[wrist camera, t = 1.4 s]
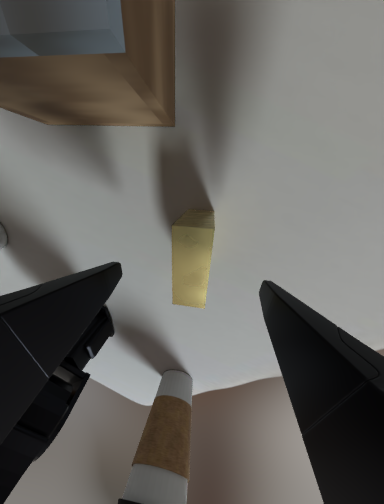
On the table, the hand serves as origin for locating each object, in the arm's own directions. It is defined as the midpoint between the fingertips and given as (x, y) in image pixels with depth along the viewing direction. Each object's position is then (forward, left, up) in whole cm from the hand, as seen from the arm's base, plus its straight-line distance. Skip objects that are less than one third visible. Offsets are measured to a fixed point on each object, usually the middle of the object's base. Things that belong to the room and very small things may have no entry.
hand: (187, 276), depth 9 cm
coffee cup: (-2, -29, -6) cm, 30 cm away
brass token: (0, 0, -6) cm, 6 cm away
